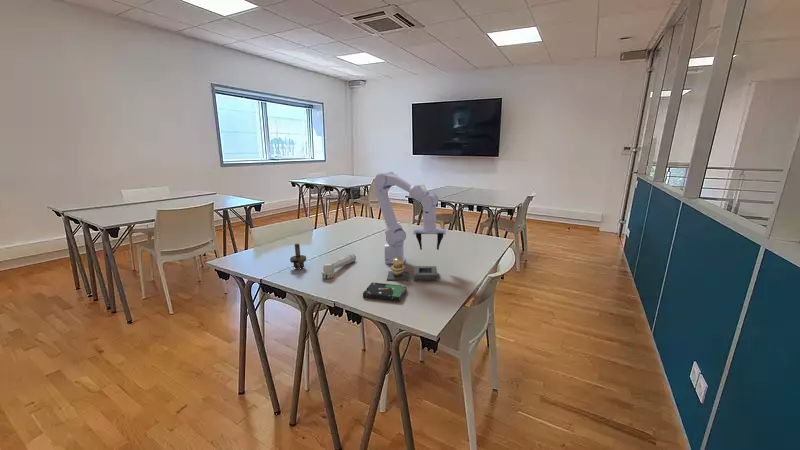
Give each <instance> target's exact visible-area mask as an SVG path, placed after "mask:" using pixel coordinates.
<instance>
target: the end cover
mask: <svg viewBox="0 0 800 450" xmlns="http://www.w3.org/2000/svg"><path fill="white" fill-rule="evenodd" d="M390 269H391V270H390V271H393V276H394V277H401V276H403V271H405V265H404V264H402V258H394V259H393V264H392V265H391V266H390Z"/></svg>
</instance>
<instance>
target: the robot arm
mask: <svg viewBox="0 0 800 450" xmlns="http://www.w3.org/2000/svg"><path fill="white" fill-rule="evenodd" d="M373 184H374V189H375V190H374V191H375V192H374V193H375V195H376V199H377V202H378V204H379V209H380V210H381V213H382V216H383V219H384V222H385V225H386V229H385V231H384V234H385V241H386V243H385V244H384V264H385V265H386V264H387V265H389V264H392V265H393V259H394V258H402V265H404V264H405V260H406V259H405V253H404V251H405V250H404V249H405V248H404V242H405V240H406V239H407V233H406V231H405V230H404V229H403V226H402V225H401V224H399V223H398V221H397V218H396V214H395V211H394V208H393V206H392V202H391V200H390V197H389V194H388V193H389V190H390V189H391V188H392V187H393V186H397V187H398V188H401V189H402V190H403V191H405V192H408V194H409V197H411V198H413V199H415V200H416V201H418V202H419V203H421V206H422V210H423V212H422V214H423V221H422V223H423V225H422V228H418V229H415V228H413V235H415V237H416V239H417V242H418V245H419V248H420V251H421V250H423V248H422V247H423V246H422V245H423V244H422V243H423V242H422V235H437V239H436V250H438V251H439V248H440V244H441V243H442V240H443V238H444V235H445V236H446V235H447V231H446V229H445V228H444V229H442V228H441V229H440V228H437V205H438V203H439V196H438V195H437V194H436V193H434V192H430V191H429V190H425V189H424V188H422V187H421V185H419V184H418V185H417V184H415V185H412V184H411V183H409V182H408V181H406V180H404V179H403V178H402V177H400V176H399V175H398V174H396V173H394V172H393V171H388V172H379V173H377V174H376V175H375V176H374V179H373Z"/></svg>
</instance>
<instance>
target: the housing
mask: <svg viewBox="0 0 800 450" xmlns="http://www.w3.org/2000/svg"><path fill="white" fill-rule="evenodd" d="M413 282H431V283H432V282H433V283H434V282H436V283H437V282H438V269H437V266H436V265H432V266H431V265H430V266H429V265H414V266H413Z"/></svg>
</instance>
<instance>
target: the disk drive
mask: <svg viewBox="0 0 800 450" xmlns="http://www.w3.org/2000/svg"><path fill="white" fill-rule="evenodd" d="M407 288H408V287H407V286H406V285H401V284H400V285H399V284H392V283H390V284H389V283H380V282H371V283H370V284H369V285H368V286H367V288H366V290H364V291H363V292H362V298H363V299H366V298H367V300H377V301H378V300H379V301H384V302H385V301H386V302H391V303H401V301H402V300H403V298H404V296H405V294H406V293H407V291H408V290H407Z"/></svg>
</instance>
